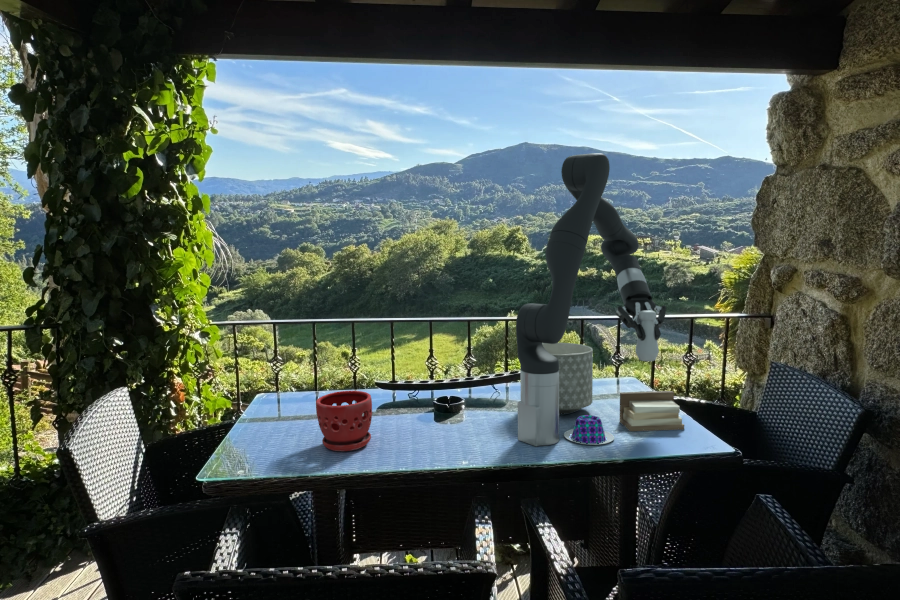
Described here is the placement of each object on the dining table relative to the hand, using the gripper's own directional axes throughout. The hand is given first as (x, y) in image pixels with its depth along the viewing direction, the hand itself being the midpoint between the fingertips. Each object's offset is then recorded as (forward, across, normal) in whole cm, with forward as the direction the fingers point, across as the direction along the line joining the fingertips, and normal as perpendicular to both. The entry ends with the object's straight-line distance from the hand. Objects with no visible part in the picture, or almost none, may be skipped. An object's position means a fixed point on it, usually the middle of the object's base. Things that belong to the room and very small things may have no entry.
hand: (650, 338), depth 143 cm
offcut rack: (+17, 0, +15) cm, 23 cm away
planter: (+6, -20, +27) cm, 34 cm away
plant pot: (+22, -78, +10) cm, 82 cm away
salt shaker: (+3, 0, +6) cm, 6 cm away
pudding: (+22, -18, +10) cm, 31 cm away
